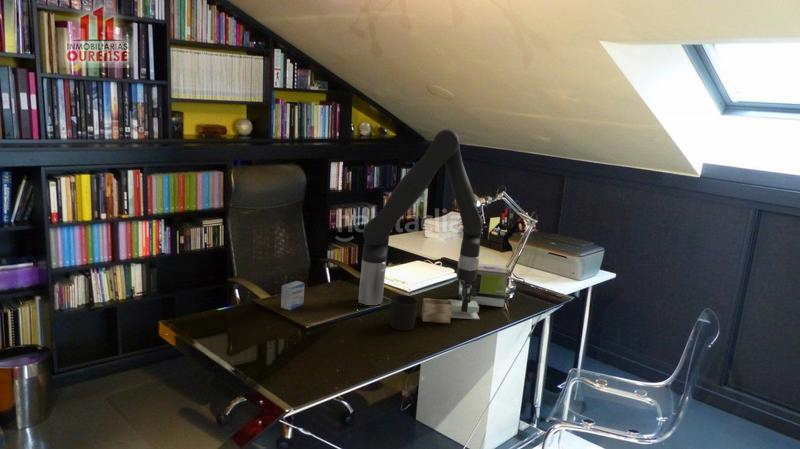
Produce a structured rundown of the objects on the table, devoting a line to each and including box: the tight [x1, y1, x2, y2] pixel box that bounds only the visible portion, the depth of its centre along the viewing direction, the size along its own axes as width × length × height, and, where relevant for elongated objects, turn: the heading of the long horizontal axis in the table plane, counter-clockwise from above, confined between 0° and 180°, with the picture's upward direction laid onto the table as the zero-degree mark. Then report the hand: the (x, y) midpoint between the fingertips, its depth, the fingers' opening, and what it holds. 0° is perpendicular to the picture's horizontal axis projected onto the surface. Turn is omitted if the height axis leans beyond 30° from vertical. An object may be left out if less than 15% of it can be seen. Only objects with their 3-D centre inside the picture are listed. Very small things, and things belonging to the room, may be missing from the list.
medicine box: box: [280, 280, 306, 311], centre depth 221 cm, size 8×4×9 cm, turn 150°
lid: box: [447, 298, 480, 313], centre depth 230 cm, size 11×6×3 cm, turn 94°
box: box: [421, 298, 452, 324], centre depth 222 cm, size 10×5×7 cm, turn 94°
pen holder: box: [389, 294, 419, 332], centre depth 213 cm, size 9×9×10 cm
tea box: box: [470, 263, 509, 308], centre depth 245 cm, size 15×10×15 cm
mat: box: [451, 311, 480, 320], centre depth 230 cm, size 12×8×1 cm, turn 94°
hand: (462, 308), depth 230 cm, fingers closed on lid, 6 cm apart
